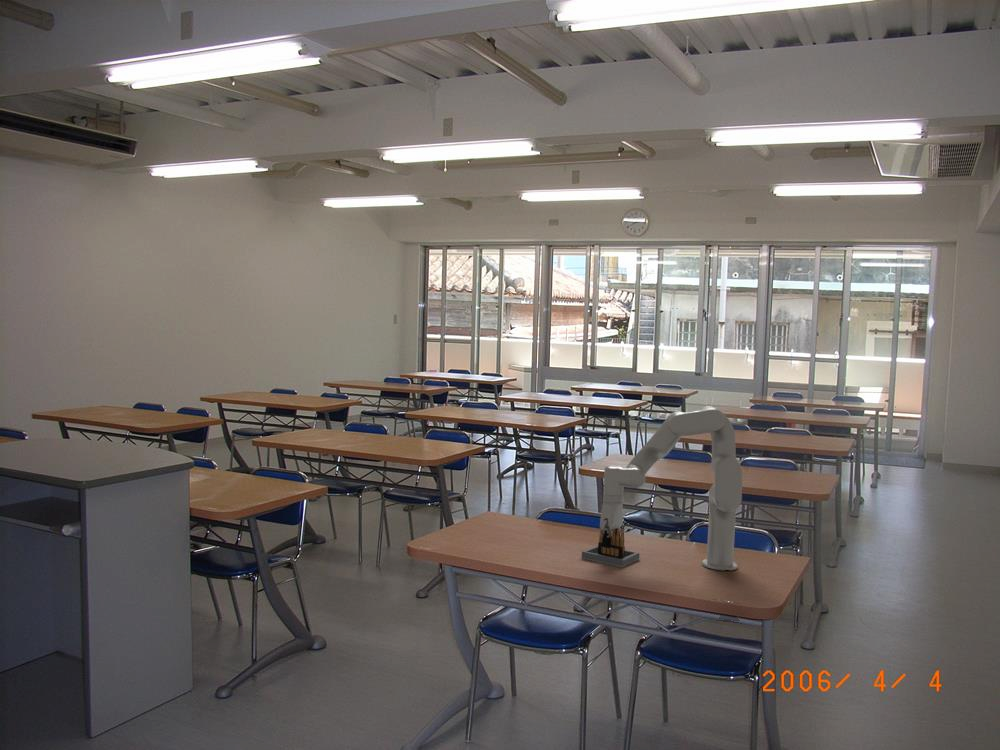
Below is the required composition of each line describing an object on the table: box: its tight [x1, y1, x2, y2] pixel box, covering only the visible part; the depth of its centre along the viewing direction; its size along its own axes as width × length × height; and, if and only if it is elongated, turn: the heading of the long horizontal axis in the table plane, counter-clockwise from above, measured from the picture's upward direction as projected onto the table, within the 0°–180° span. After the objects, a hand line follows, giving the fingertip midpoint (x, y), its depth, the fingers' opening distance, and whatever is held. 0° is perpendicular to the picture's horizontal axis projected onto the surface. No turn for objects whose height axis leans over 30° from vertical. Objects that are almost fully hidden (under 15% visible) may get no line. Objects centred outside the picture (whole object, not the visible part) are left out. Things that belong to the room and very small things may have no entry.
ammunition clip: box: [597, 527, 626, 559], centre depth 296 cm, size 11×2×12 cm, turn 54°
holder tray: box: [581, 545, 640, 568], centre depth 296 cm, size 14×17×3 cm
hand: (611, 545), depth 296 cm, fingers open, 7 cm apart
